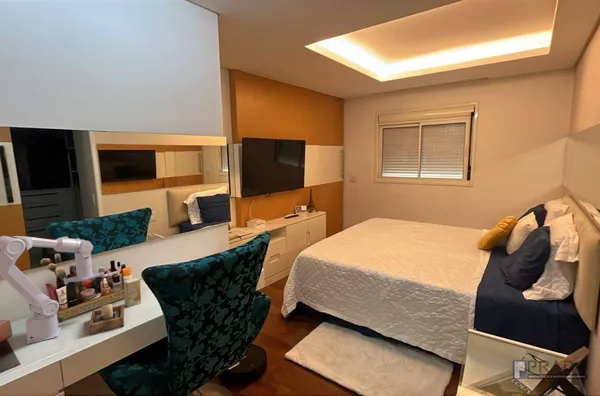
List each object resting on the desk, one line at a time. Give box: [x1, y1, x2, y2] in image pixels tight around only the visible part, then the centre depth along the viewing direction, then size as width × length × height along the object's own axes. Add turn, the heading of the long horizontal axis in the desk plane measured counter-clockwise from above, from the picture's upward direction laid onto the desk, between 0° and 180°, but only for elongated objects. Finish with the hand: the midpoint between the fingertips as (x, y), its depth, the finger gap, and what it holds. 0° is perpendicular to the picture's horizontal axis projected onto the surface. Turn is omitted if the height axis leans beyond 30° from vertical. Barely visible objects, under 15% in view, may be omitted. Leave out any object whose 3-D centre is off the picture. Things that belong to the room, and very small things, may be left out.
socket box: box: [88, 304, 125, 335], centre depth 133 cm, size 12×14×4 cm
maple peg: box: [100, 303, 113, 321], centre depth 132 cm, size 4×4×7 cm
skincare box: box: [123, 277, 142, 308], centre depth 150 cm, size 6×4×12 cm
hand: (86, 295), depth 136 cm, fingers open, 7 cm apart
